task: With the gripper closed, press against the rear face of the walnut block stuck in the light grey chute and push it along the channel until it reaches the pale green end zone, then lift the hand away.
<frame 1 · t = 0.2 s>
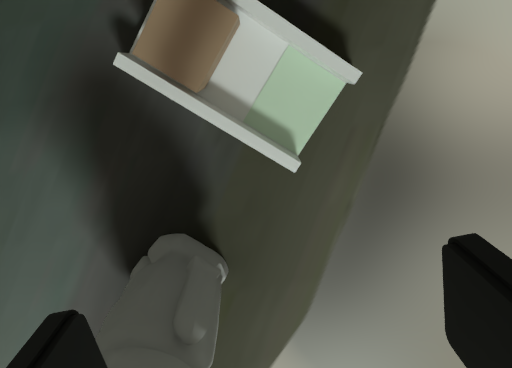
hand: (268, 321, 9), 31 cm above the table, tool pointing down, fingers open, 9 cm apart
unidentifiable: (179, 272, 44), on the table
walnut block: (190, 37, 31), point 4 cm above the table, slide at 0.0 cm
chute: (239, 68, 36), on the table
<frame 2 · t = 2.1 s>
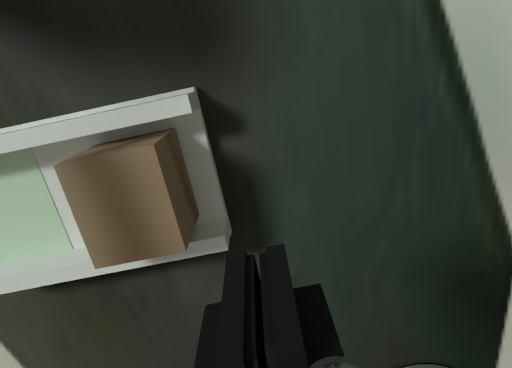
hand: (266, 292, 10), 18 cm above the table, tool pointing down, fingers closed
walnut block: (137, 193, 24), point 4 cm above the table, slide at 0.0 cm
chute: (94, 187, 28), on the table
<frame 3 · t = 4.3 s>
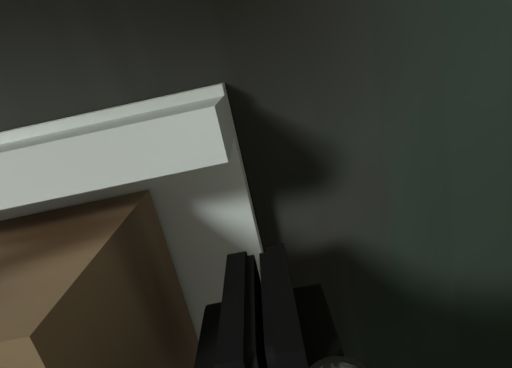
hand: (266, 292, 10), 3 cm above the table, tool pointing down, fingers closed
chute: (2, 302, 13), on the table
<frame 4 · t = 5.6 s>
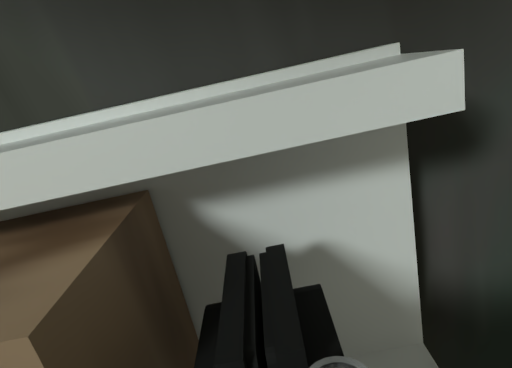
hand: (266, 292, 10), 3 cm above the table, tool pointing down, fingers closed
chute: (131, 277, 13), on the table
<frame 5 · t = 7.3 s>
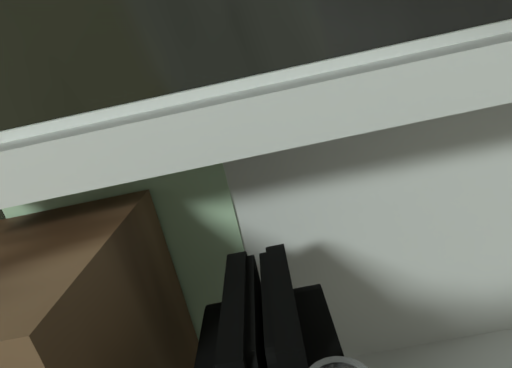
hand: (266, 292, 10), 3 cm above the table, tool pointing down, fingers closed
chute: (331, 237, 13), on the table
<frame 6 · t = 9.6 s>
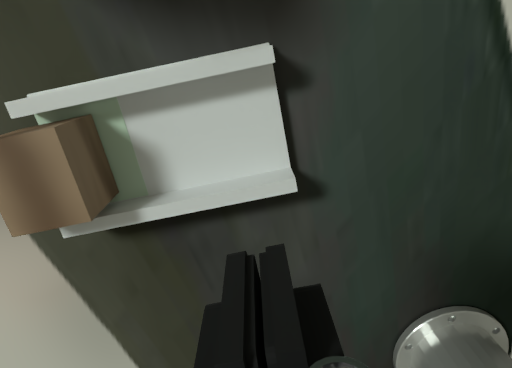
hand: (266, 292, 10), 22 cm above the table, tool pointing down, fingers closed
walnut block: (54, 172, 27), point 4 cm above the table, slide at 13.4 cm
chute: (169, 138, 31), on the table
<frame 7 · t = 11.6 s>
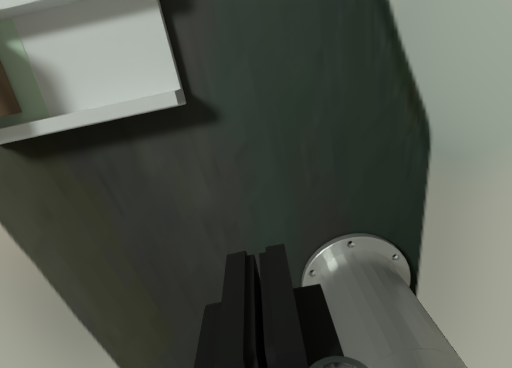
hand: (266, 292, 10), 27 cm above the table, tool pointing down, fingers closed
chute: (68, 62, 33), on the table
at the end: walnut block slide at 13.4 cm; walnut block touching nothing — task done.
